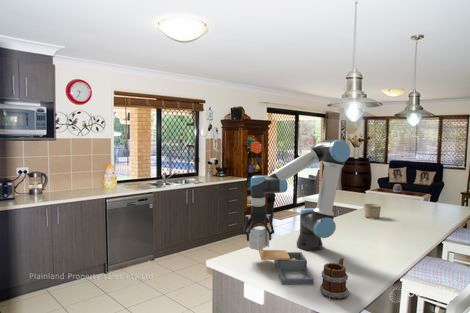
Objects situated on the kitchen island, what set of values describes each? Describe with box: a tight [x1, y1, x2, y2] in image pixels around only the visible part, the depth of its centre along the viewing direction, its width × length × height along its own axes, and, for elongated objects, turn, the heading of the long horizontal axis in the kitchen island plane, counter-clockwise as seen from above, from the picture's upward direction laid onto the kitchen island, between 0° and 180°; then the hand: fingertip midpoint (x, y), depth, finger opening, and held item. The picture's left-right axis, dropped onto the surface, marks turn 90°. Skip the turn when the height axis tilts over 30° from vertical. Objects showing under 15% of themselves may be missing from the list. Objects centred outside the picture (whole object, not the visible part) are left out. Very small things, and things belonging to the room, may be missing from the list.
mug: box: [319, 257, 350, 301], centre depth 140 cm, size 12×14×15 cm
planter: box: [363, 203, 382, 219], centre depth 274 cm, size 13×13×10 cm
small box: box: [250, 225, 268, 251], centre depth 178 cm, size 8×6×10 cm
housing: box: [273, 251, 315, 286], centre depth 160 cm, size 14×25×6 cm, turn 1°
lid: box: [258, 246, 290, 261], centre depth 166 cm, size 14×12×3 cm
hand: (259, 246), depth 179 cm, fingers closed on small box, 9 cm apart
